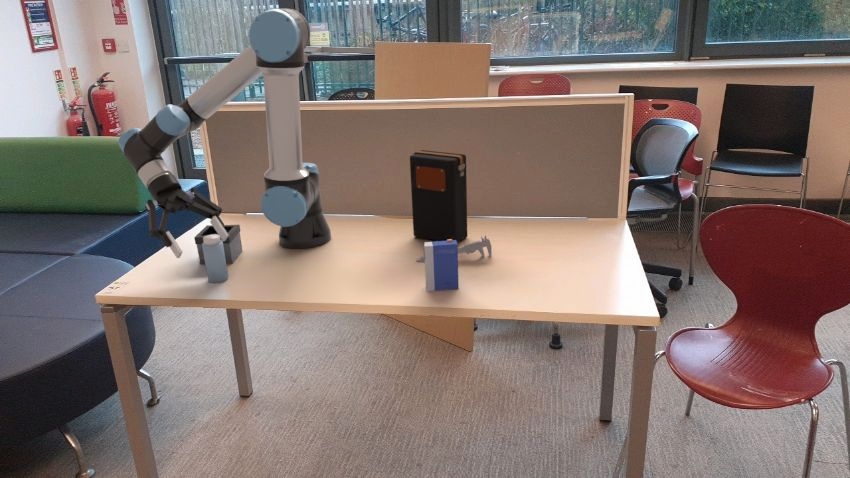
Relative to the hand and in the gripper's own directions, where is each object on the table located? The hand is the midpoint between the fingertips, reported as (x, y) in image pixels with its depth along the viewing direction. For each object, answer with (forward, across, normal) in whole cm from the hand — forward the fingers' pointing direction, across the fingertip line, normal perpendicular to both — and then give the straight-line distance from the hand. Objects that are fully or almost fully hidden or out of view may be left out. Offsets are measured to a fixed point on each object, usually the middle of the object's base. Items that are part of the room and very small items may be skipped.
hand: (203, 246), depth 161 cm
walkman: (+45, -28, +33) cm, 62 cm away
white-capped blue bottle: (+8, -1, -4) cm, 9 cm away
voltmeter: (+30, -55, +18) cm, 65 cm away
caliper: (+39, -44, +27) cm, 65 cm away
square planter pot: (0, -10, -12) cm, 16 cm away
